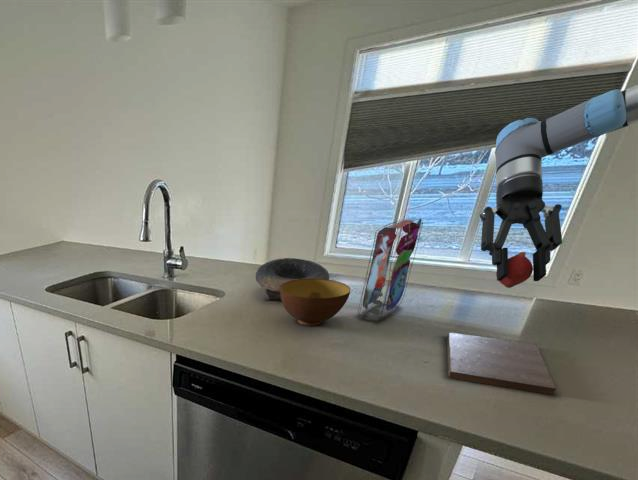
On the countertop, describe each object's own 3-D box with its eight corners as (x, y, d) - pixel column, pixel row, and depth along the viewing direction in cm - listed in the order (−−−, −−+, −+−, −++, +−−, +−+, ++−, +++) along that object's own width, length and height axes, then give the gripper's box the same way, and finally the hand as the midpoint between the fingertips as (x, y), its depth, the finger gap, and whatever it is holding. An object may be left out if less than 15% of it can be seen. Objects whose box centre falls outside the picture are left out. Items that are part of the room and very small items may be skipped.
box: (390, 295, 128) (411, 213, 116) (412, 299, 124) (436, 214, 112) (355, 318, 115) (375, 228, 102) (379, 323, 110) (402, 230, 98)
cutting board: (552, 395, 76) (556, 388, 75) (448, 377, 84) (450, 371, 84) (533, 349, 92) (536, 343, 91) (446, 338, 100) (448, 332, 99)
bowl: (319, 307, 124) (325, 275, 119) (357, 328, 109) (365, 292, 104) (266, 315, 122) (269, 283, 117) (297, 337, 107) (302, 301, 102)
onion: (491, 290, 90) (505, 253, 86) (490, 282, 94) (503, 247, 90) (526, 292, 87) (542, 255, 83) (523, 285, 91) (538, 249, 87)
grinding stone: (239, 300, 139) (242, 272, 133) (277, 275, 151) (281, 249, 145) (303, 320, 125) (309, 290, 119) (339, 291, 138) (346, 263, 131)
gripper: (560, 194, 91) (565, 287, 86) (461, 199, 98) (460, 285, 93) (585, 170, 84) (591, 269, 80) (476, 176, 91) (476, 268, 86)
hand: (520, 277), depth 86 cm, fingers closed on onion, 6 cm apart
